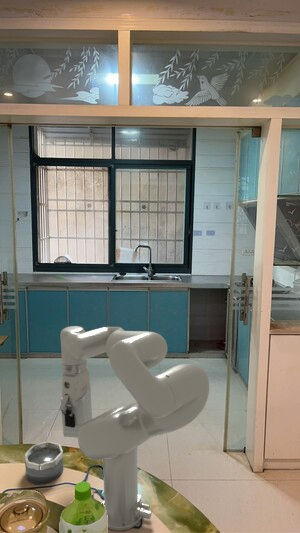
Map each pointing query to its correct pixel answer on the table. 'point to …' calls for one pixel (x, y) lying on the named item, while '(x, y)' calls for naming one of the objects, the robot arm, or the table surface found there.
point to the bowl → (44, 463)
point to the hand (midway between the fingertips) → (77, 418)
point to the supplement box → (78, 415)
